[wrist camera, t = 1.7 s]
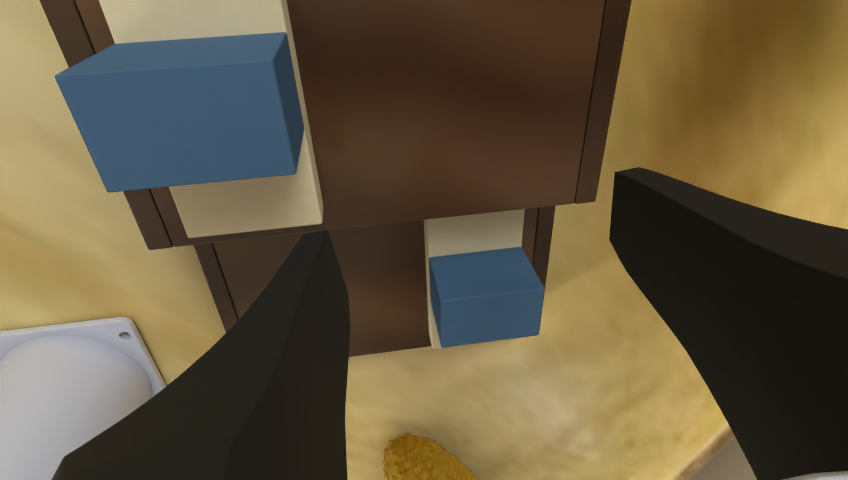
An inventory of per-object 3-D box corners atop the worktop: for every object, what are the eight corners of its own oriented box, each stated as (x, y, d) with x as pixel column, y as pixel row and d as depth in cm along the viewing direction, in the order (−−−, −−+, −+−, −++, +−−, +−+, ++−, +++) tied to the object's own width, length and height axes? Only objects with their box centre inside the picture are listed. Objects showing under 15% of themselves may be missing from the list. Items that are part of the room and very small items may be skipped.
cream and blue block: (323, 206, 16) (318, 282, 13) (197, 219, 16) (156, 301, 13) (273, -72, 12) (245, -70, 9) (96, -64, 12) (-9, -58, 8)
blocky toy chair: (507, 323, 26) (532, 385, 22) (428, 333, 25) (442, 398, 22) (517, 189, 21) (551, 241, 18) (422, 199, 21) (438, 254, 17)
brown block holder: (527, 305, 28) (563, 380, 23) (247, 341, 27) (226, 429, 22) (571, -122, 17) (657, -138, 12) (95, -102, 15) (-11, -111, 11)
